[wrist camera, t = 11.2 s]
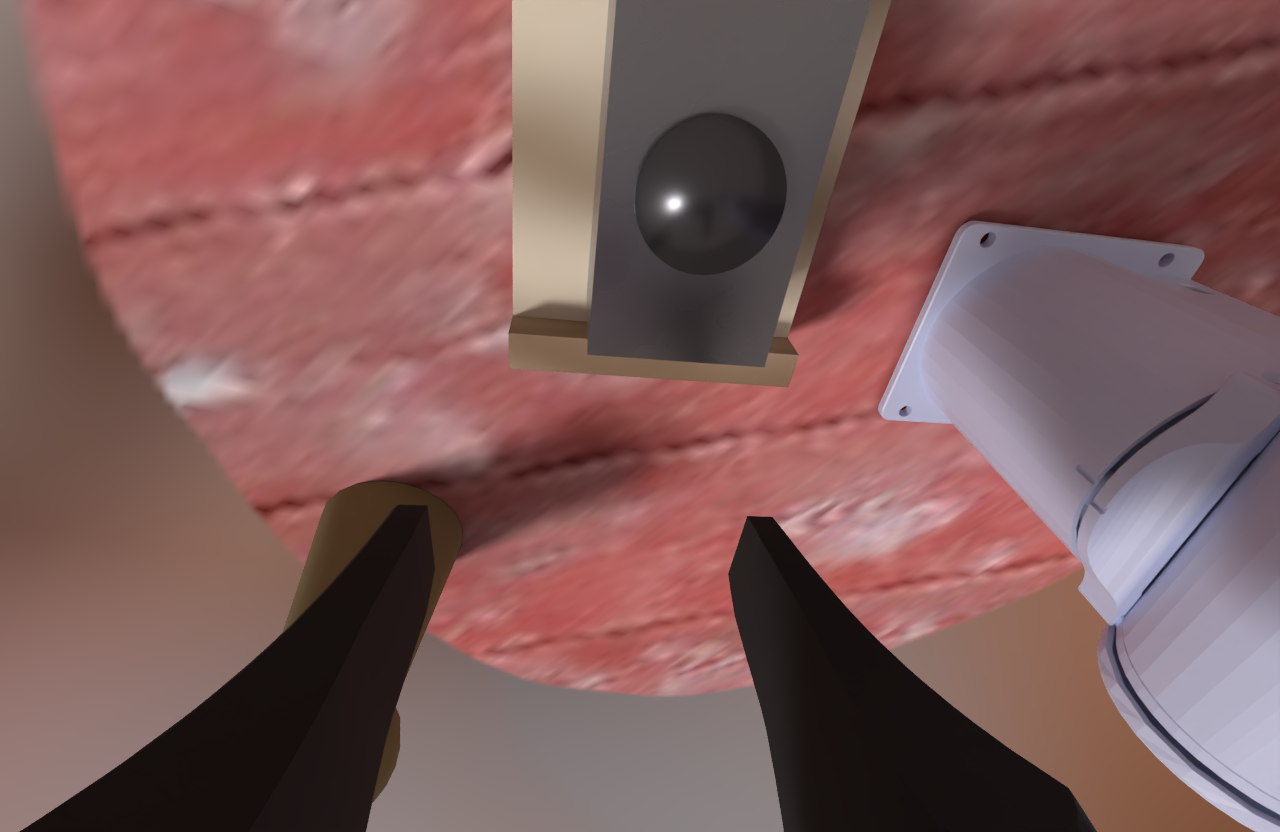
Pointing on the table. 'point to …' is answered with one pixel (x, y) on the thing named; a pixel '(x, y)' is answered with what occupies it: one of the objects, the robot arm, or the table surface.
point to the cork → (344, 536)
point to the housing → (709, 169)
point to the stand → (564, 195)
